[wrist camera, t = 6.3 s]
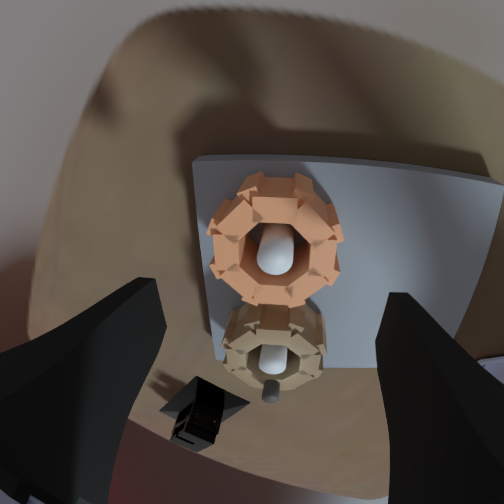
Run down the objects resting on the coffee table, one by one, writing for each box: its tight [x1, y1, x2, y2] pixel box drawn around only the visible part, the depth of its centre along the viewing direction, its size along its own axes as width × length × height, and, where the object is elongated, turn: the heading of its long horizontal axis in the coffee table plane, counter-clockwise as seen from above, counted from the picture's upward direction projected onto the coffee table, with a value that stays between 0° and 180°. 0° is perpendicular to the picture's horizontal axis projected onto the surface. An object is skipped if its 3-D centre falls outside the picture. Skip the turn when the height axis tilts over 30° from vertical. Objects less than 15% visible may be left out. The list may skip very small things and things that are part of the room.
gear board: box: [192, 154, 504, 374], centre depth 15 cm, size 16×13×4 cm
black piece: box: [159, 376, 250, 452], centre depth 25 cm, size 12×7×5 cm, turn 147°
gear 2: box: [220, 303, 327, 403], centre depth 16 cm, size 6×6×4 cm
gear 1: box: [206, 171, 345, 308], centre depth 13 cm, size 6×6×3 cm
